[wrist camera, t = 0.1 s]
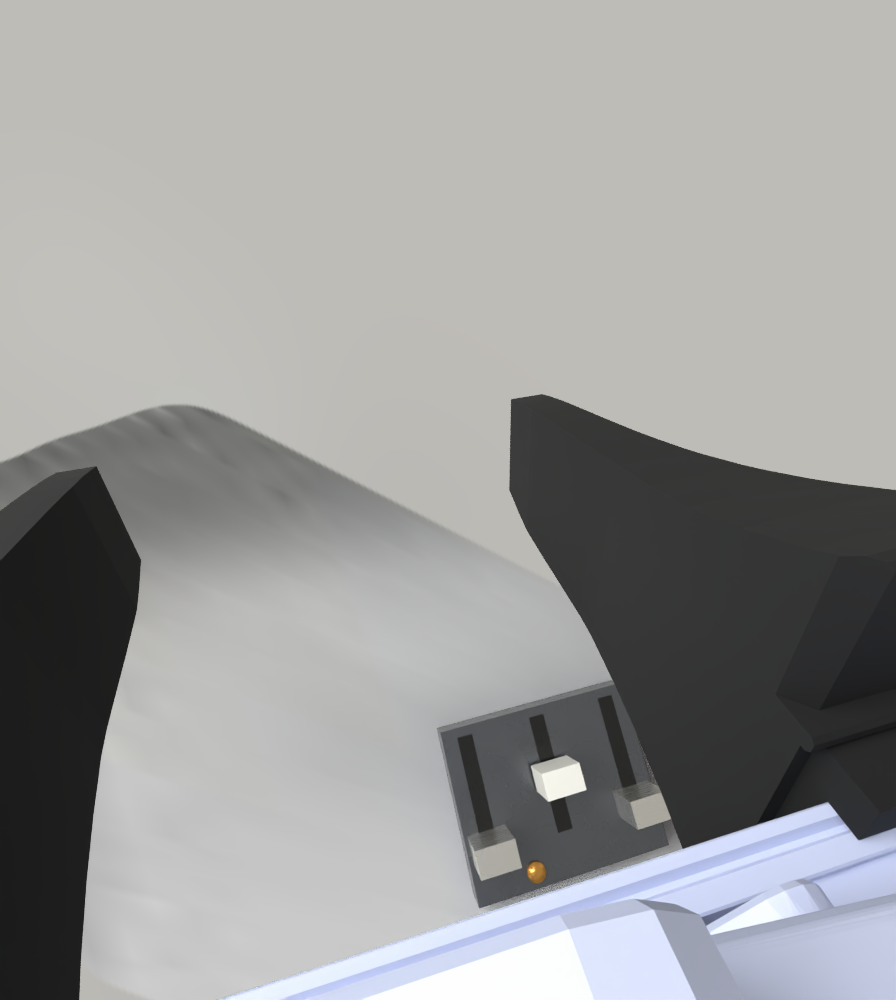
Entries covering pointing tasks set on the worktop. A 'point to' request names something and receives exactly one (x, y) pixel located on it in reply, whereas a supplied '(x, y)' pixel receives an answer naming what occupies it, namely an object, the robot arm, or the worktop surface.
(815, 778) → the robot arm
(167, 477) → the worktop surface
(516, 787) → the panel
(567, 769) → the white slider knob
